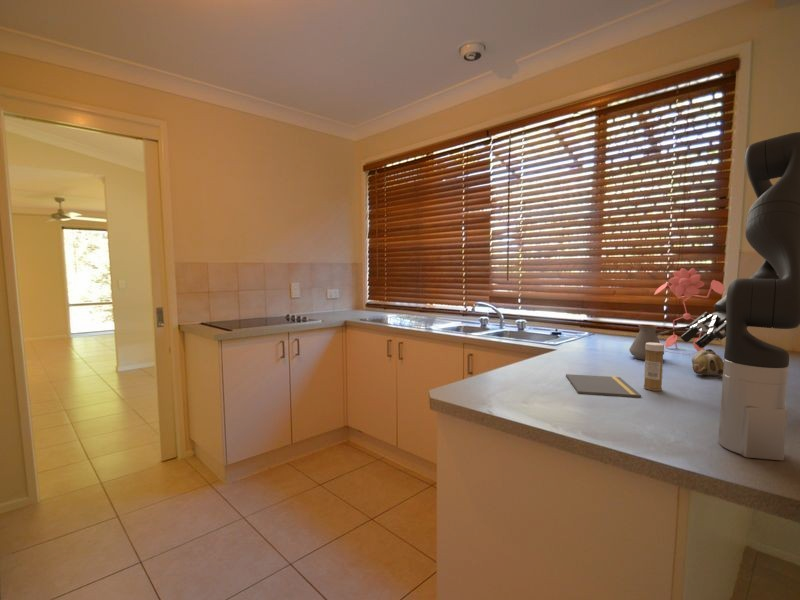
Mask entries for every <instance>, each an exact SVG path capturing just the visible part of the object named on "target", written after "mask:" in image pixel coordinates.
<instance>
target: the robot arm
mask: <svg viewBox="0 0 800 600" xmlns="http://www.w3.org/2000/svg"><path fill="white" fill-rule="evenodd" d="M744 156H745V158H744V164H745V165H744V166H745V171H746V174H747V177H748V180H749V182H750V185H751V186H752V190H753V192H754V195H755V196H756V197H757V199H756V200H755V201H754V202H753V203H752V205H751V206H750V208H749V210H748V212H747V216H746V217H747V218H746V226H745V234H744V235H745V238H746V241H747V243H748V244H749V245H750V247H751V248H752V249H753V250H754V251H756V253H758V255H759V256H761V257H762V258H763V259H764V261H763V262H762V263H761V265H760V266H759V267H758V269H757V270H756V272H755V273H753V274H752V275H751V276H750V277H749V278H735V279H733V280H732V281H731V282H730V283H729V285H728V287H727V290H726V295H725V296H723V297H722V298H721V299H719V300H718V301H717V302H716V303H714V305H713V309H714V310H715V311H714V312H712V313H711V314H710V313H709V312H707V311H705V312H703V313H702V314H701V315H699V316H698V317H697V318H695V320H693V321H691V322H690V323H689V324H688V325H689V326H690V328H689V329H688V330H686V331H685V332H684V333H683V334H682V335H681V336H680V339H681V341H682V340H683V342H685V343H689V341H691V340H692V339H693V338H695V337H696V336H697V335H698V334H700V333H701V334H702V333H703V332H705V333H704V334H703V335H702V336H700V338H699V337H698V338H699V339H698V340H697V341H696V342H695V344H696V345H697V346H698V347H700V348H703V347H704V348H705V347H706V346H707V345H709V344H710V343H711V342H713V341H715V340H718V339H719V340H723V339H725V343H724V344H725V346H724V354H723V355H724V356H723V363H724V366H723V375H722V381H721V395H720V396H721V397H720V406H719V407H720V410H719V420H718V421H719V422H718V423H719V424H718V439H717V441H718V443H719V445H720V446H722V447H723V448H725V449H726V450H729V451H731V452H733V453H736V454H739V455H740V456H742V457H744V458H753V459H762V460H770V461H771V460H774V461H784V457H785V447H786V435H787V424H788V423H787V422H788V411H787V409H786V398H787V385H788V377H789V376H788V375H789V366H790V365H789V364H790V353H789V351H787V350H786V349H784V348H782V347H780V346H777V345H774V344H772V343H768V342H766V341H763V340H762V339H759V338H757V337H756V336H754V335H753V334H752V333H751V332H750V331H749V330H748V327H750V328H751V327H752V328H767V329H777V330H791V329H795V328H798V327H799V326H800V131H798V132H797V131H796V132H790V133H786V134H782V135H779V136H775V137H771V138H768V139H764V140H761V141H756V142H753V143H750V144H749V145H748V147H747V148H746V151H745V155H744ZM778 178H779V179H778ZM772 179H773V180H774V179H778V180H777V181H776V182H775V183H774V184H772V182H771V180H772Z"/></svg>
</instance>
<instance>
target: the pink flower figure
mask: <svg viewBox="0 0 800 600" xmlns="http://www.w3.org/2000/svg"><path fill="white" fill-rule="evenodd" d="M672 273H673V276H674V277H670V278H669V279H668V282H666V283H663V284H662V285H660V286H659V287H658V288H657V289H656V290H655V292H654V294H653V295H654V296H656V295H658V294H659V293H661V292H663V291H664V290H665V289H666V288H667V287H668V288H669V289H670V291H671V292H672V293H673V294H674V295H675V297H676V298H677V299H682V298H683V299H684V298H685V299H684V300H683V301H682V304H683V308H684V312H685V313H683V316H682V317H678V318H676V319H674V320H673V321H672V325H673V326H672V327H673V328H672V329H675V321H677V320H680V319H685V320H690V319H691V320H693V321H694V320H696V318H695V319H694V318H693V317H692V315H691V313H688V311H687V306H686V303H685V302H686V301H688V300H689V299H690V298H691V299H692V297H697V298H705V299H709V297H710V294H711V292H712V290H713V291H714V292H715V293H717V294H719V295H723V294H724V291H725V288H724V285H723V284H722V282H720V281H719V280H715V279H713V280H712V281H711V282H710V287H709V290H708V292H707V296H705V295H698V294H700V288H702V287H704V286H705V282H703V281H702V280H701V279H702V274H700V273H698V274H697V271H696V269H695V268H693V267H692V268H690V269H689V270H688V269H686V268H683V267H682V268H680V270H675V271H674V270H673V272H672ZM669 283H670V284H671V285H670V284H669ZM682 295H683V296H682ZM672 333H673V334H671V335H670V336H669V337H668V338H666V340H665V342H664V349H667V348H669V347H671V346H673V345H675V349H677V348H678V345H677V340H678V339H679V338H678V335H677V334H675V332H672ZM701 335H702V332H701V333H699V335H698V337H696V338H695V339H694V340H693V344H692V345H693V348H694V349H695V350H696V351H697V352H699V351H701V350H702V349H705V347H703V348H700V347H698V346H697V345H696V344H695V342H696V341H697V340H698V339H699V338H701V337H702V336H701ZM665 352H668V353H669V351H668V350H665ZM670 353H672V354H674V351H673V352H671V351H670ZM676 354H678V355H679V354H680V353H679V352H678V353H677V352H676ZM683 355H686V356H689V354H687V353H683Z"/></svg>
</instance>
